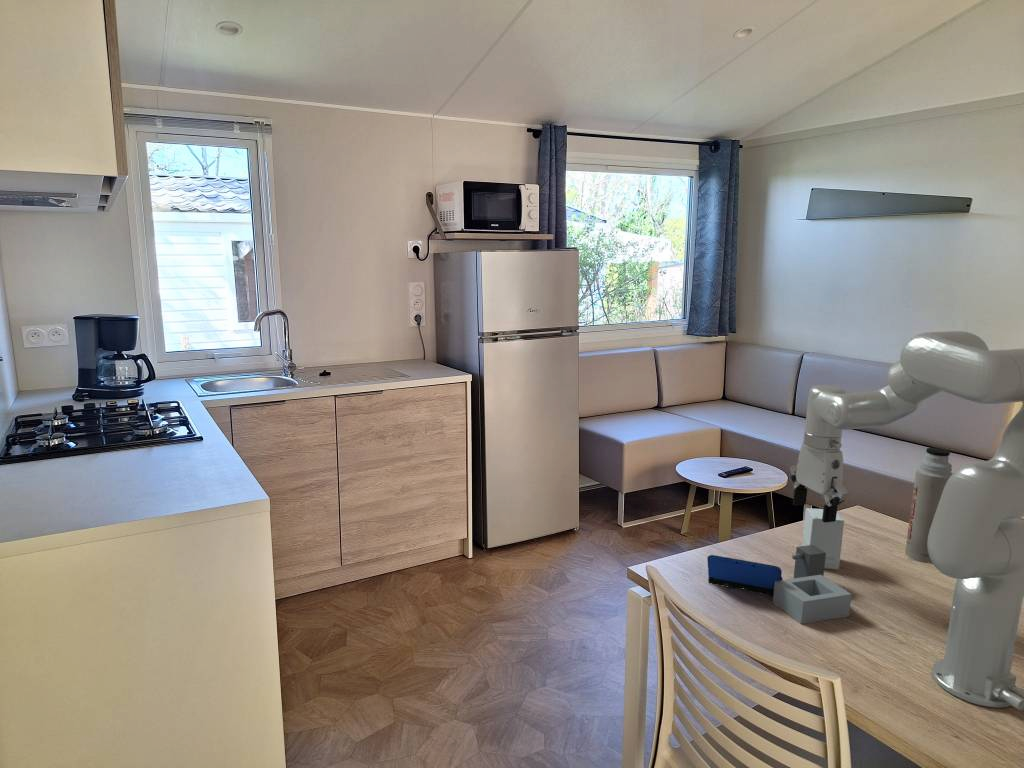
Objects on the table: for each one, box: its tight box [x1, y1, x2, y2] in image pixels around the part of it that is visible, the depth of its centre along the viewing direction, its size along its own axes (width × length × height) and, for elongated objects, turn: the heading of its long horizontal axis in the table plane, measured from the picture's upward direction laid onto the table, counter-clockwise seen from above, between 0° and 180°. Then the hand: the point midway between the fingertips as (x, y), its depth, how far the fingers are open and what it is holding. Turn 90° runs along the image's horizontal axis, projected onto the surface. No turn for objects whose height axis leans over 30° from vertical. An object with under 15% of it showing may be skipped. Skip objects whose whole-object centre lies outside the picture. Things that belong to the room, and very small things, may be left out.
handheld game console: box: [707, 554, 783, 597], centre depth 154 cm, size 16×13×9 cm
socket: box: [772, 575, 853, 625], centre depth 144 cm, size 9×12×5 cm
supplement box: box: [801, 507, 845, 570], centre depth 165 cm, size 7×7×13 cm
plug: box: [791, 545, 826, 579], centre depth 155 cm, size 4×7×8 cm, turn 106°
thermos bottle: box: [904, 447, 954, 564], centre depth 168 cm, size 8×8×28 cm
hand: (813, 513), depth 154 cm, fingers open, 9 cm apart
